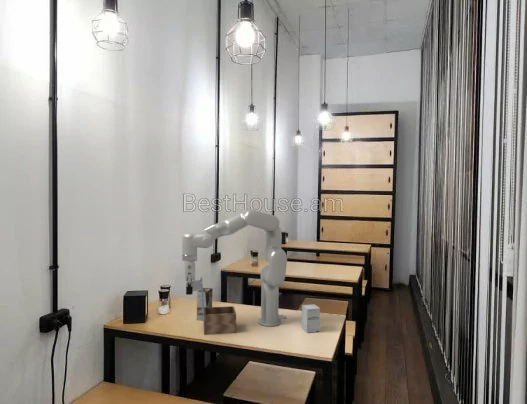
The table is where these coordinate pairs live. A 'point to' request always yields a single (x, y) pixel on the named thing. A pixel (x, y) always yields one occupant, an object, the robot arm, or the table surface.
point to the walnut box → (219, 320)
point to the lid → (197, 287)
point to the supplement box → (310, 318)
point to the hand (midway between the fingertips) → (189, 292)
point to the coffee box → (207, 301)
